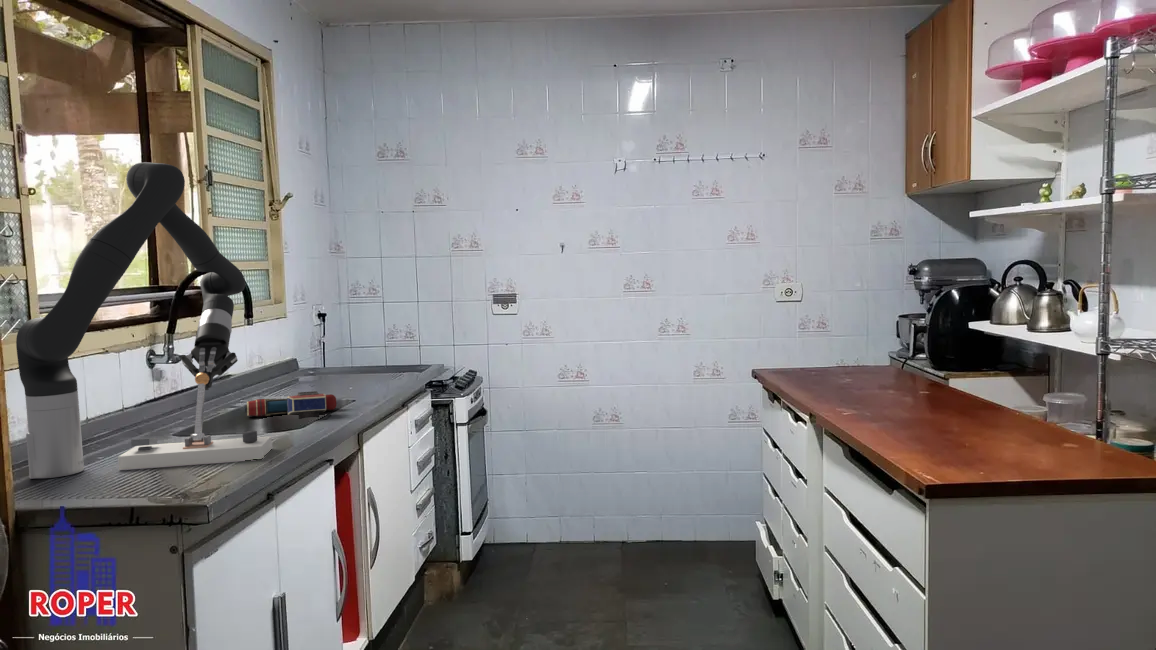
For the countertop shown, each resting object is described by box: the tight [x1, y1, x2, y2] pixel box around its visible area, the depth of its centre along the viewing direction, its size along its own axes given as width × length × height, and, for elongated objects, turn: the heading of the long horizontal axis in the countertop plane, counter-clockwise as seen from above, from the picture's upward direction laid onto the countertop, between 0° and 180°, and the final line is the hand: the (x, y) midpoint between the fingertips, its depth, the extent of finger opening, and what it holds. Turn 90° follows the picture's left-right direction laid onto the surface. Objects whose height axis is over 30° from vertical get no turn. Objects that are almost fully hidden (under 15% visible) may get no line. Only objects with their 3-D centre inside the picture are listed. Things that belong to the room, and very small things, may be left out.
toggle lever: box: [190, 372, 209, 443], centre depth 177 cm, size 3×3×16 cm
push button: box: [242, 430, 258, 442], centre depth 176 cm, size 3×3×2 cm
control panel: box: [117, 434, 273, 471], centre depth 174 cm, size 11×29×5 cm, turn 101°
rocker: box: [130, 437, 158, 447], centre depth 172 cm, size 5×4×1 cm
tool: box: [244, 390, 337, 420], centre depth 225 cm, size 8×25×20 cm
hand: (204, 388), depth 181 cm, fingers closed
